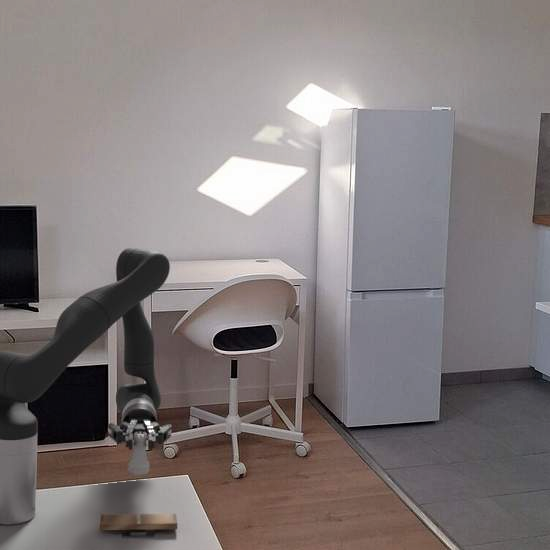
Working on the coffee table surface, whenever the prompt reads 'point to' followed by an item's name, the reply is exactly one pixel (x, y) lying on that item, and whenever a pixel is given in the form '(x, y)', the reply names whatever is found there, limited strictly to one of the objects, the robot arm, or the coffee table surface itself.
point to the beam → (137, 521)
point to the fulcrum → (138, 533)
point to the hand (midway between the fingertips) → (140, 445)
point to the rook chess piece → (139, 455)
